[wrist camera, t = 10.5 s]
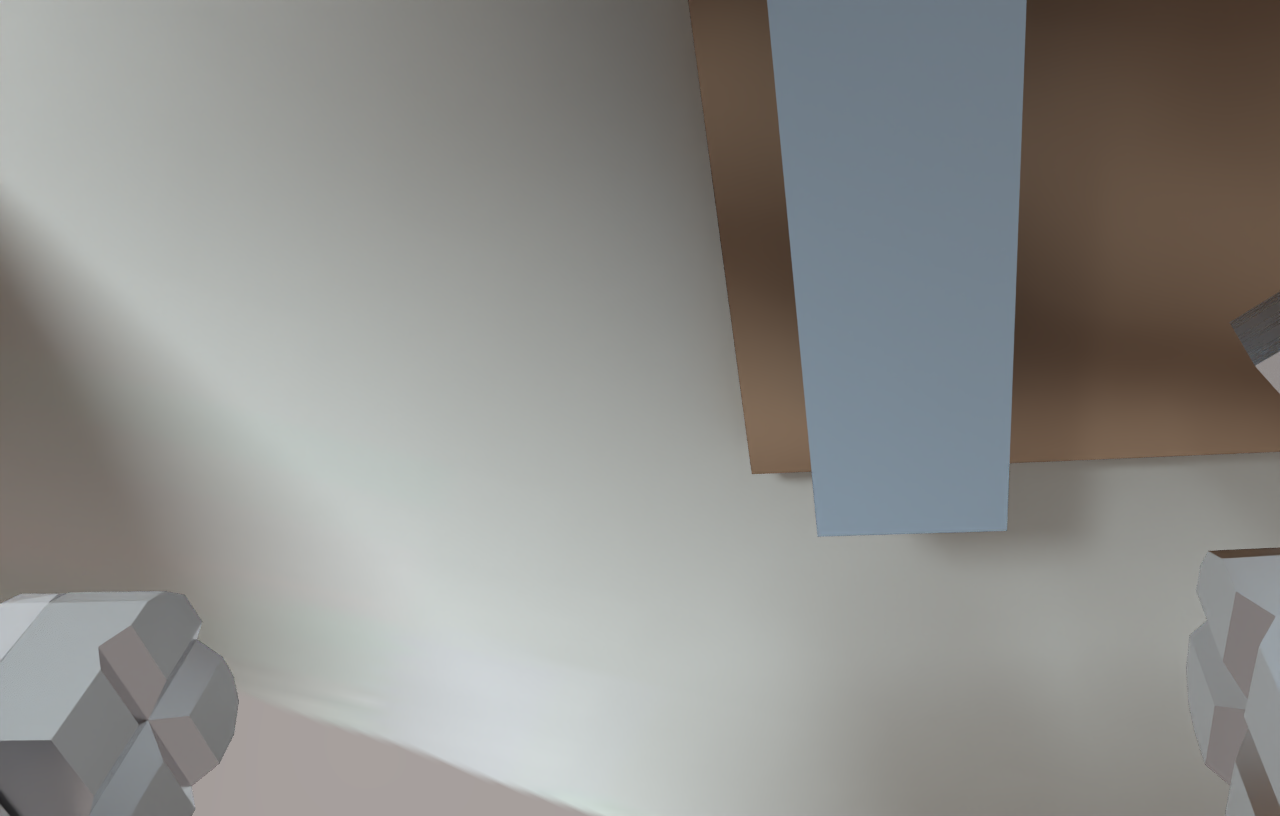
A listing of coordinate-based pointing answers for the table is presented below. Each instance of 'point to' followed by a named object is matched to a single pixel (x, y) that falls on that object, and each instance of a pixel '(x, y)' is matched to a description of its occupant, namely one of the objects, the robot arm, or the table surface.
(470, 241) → the table surface
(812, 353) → the link
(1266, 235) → the base board
